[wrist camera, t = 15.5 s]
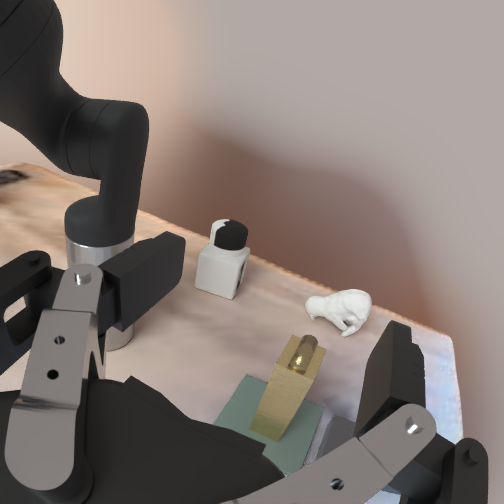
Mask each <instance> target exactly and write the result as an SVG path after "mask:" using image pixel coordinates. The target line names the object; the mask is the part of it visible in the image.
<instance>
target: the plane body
mask: <svg viewBox="0 0 504 504" xmlns="http://www.w3.org/2000/svg"><path fill="white" fill-rule="evenodd" d="M355 425H356V423H355V422H352V421H349V420H347V419H344V418H341V417H338V416H336V415H334V417H333V418H332V420H331V421H330V422H329V424H328V425H327V428H326V431H325V434H324V437H323V440H322V443H321V446H320V449H319V452H318V454H317V457H316V460H318V459H319V458H321V457H323V456H324V455H326V454H328V453H329V452H331V451H333V450H334V449H336V448H338V447H339V446H341V445H342V444H344V443H346V442H347V441H349V440H350V439H352V438H353V434H354V430H355ZM316 460H315V461H316ZM381 490H383V491H387V492H391V493H395V494H400V495H401V493H400V492H399V491H397V490H395V489H394V488H392V487H390V486H389V485H386V486H385V487H384V488H382V489H381Z"/></svg>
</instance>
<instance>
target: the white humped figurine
mask: <svg viewBox="0 0 504 504" xmlns="http://www.w3.org/2000/svg"><path fill="white" fill-rule="evenodd" d="M305 309H306V311H307V313H308V315H309V316H310V317H311V319H312V320H313V319H314V318H315V317H317V316H322V317H325V318H326V319H328V320H329V321H332V322H333V323H334V324H335V325H336V326H337V327H338V328H340V329H341V330H343V332H342V337H347V336H349V335H351V334H353V333H355V332H356V331H357V330H359V328H360V327H361V326H362V324H363V323H364V322H365V321H366V320H367V317H368V316H369V314H370V310H371V297H370V295H369V294H368V293H366V292H364V291H362V290H357V289H349V290H343V291H340V292H338V293H335V294H331V295H330V296H326V297H321V296H312V297H310V298H308V300H307V301H306V304H305ZM314 320H315V319H314ZM343 321H345V322H346V323H347V324H348V325H351V326H349V327H347V326H346V325H345V324H344V322H343ZM313 322H314V321H313Z"/></svg>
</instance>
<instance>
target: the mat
mask: <svg viewBox="0 0 504 504" xmlns="http://www.w3.org/2000/svg"><path fill="white" fill-rule="evenodd" d="M266 387H267V383H265V382H263V381H261V380H259V379H256V378H254V377H252V376H250V375H248V374H246V376H245V377H244V379H243V380H242V382H241V383H240V385H239V387H238V388H237V390H236V391H235V393H234V394H233V396H232V397H231V399H230V400H229V402H228V403H227V405H226V406H225V408H224V409H223V411H222V412H221V414H220V415H219V417H218V418H217V419H216V421H215V422H214V424H213V425H215V426H220V427H224V428H228V429H232V430H234V431H236V432H238V433H240V434H243V435H245V436H247V437H250V438H252V439H254V440H257V441H259V442H262V443H264V444H266V447H265V449H264V451H263V453H262V454H263V455H264V456H266V457H267V458H269V459H270V460H271V461H272V462H273V463H274V464H275V465H276V466H277V467H278V468H279V469H280V470H281V471H282V473H284V474H286V475H290V474H292V473H294V472H296V471H298V470H300V469H301V467H302V464H303V462H304V459H305V457H306V454H307V452H308V449H309V447H310V444H311V441H312V439H313V436H314V433H315V430H316V428H317V425H318V422H319V419H320V416H321V414H322V411H323V408H324V407H323V406H320V405H317V404H315V403H312V402H310V401H307V400H305V399H303V401H302V403H301V404H300V406H299V408H298V410H297V411H296V413H295V415H294V416H293V418H292V420H291V421H290V423H289V425H288V426H287V428H286V429H285V431H284V433H283V434H282V436H281V437H280V439H279V441H278V442H275V441H273V440H271V439H268V438H266V437H264V436H262V435H260V434H258V433H255V432H253V431H251V430H249V426H250V424H251V422H252V420H253V417H254V415H255V413H256V410H257V408H258V406H259V403H260V401H261V399H262V396H263V394H264V392H265V389H266Z"/></svg>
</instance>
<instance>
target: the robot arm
mask: <svg viewBox="0 0 504 504" xmlns="http://www.w3.org/2000/svg"><path fill="white" fill-rule="evenodd" d="M62 44H63V25H62V19H61V15H60V12H59V9H58V8H57V5H56V4H55V2H54V0H0V121H1V122H3V123H4V124H6V125H8V126H10V127H11V128H13V129H15V130H16V131H18V132H20V133H21V134H22V135H23V136H25V137H26V138H27V139H28V140H29V141H30V142H31V143H32V144H33V145H34V146H36V148H37V149H39V150H40V151H41V152H42V153H43V154H44V155H45V156H46V157H47V158H48V159H49V160H50V161H51V162H52V163H53V164H55V165H56V166H57V167H58V168H59V169H61V170H63V171H64V172H67V173H69V174H72V175H76V176H81V177H87V178H92V179H97V180H101V184H100V192H99V195H96V196H91V197H87V198H83V199H81V200H78V201H76V202H75V203H73V204H72V205H70V206H69V207H68V208H67V210H66V212H65V218H64V223H65V240H66V253H67V263H68V269H67V270H66V271H65V270H62V269H58V268H55V267H52V266H51V258H50V255H49V254H48V253H46V252H44V251H39V250H35V251H29V252H26V253H24V254H22V255H20V256H19V257H17V258H15V259H14V260H12V261H10V262H9V263H7V264H5V265H4V266H2V267H0V375H2V374H3V373H4V372H5V371H6V370H7V369H8V368H9V367H10V366H12V365H13V364H14V363H15V362H16V361H17V360H18V359H19V358H21V357H22V356H23V355H24V354H25V353H26V352H27V351H29V350H30V349H31V351H30V355H29V359H28V362H27V366H26V370H25V375H24V379H23V383H22V388H21V390H14V391H5V392H0V504H364V503H365V502H366V501H368V500H369V499H370V498H371V497H373V496H374V495H375V494H376V493H378V492H379V491H380V490H381V489H382V488H384V487H385V486H386V485H389V486H390V487H392V488H394V489H395V490H397V491H399V492H400V493H401V498H400V502H399V504H487V502H488V456H487V452H486V450H485V449H484V447H483V446H482V444H481V443H479V442H478V441H477V440H475V439H472V438H464V439H462V440H460V441H459V442H458V443H457V444H456V445H455V444H453V443H452V442H450V441H448V440H447V439H445V438H444V437H442V436H440V435H439V434H438V433H436V423H435V420H434V418H433V416H432V415H431V414H430V412H429V411H428V410H426V401H425V378H424V377H425V370H424V356H423V354H422V352H421V350H420V348H419V346H418V345H417V344H414V343H412V337H411V327H409V326H406V325H404V324H401V323H398V322H396V321H393V320H391V321H390V322H389V324H388V325H387V327H386V329H385V330H384V332H383V334H382V336H381V337H380V339H379V341H378V342H377V344H376V346H375V347H374V349H373V351H372V352H371V354H370V357H369V359H368V362H367V365H366V370H365V377H364V383H363V389H362V394H361V400H360V405H359V410H358V415H357V420H356V425H355V430H354V434H353V438H352V439H350V440H349V441H347V442H346V443H344V444H342V445H341V446H339V447H338V448H336V449H334V450H333V451H331V452H329V453H328V454H326V455H324V456H323V457H321V458H319V459H318V460H316V461H314V462H312V463H311V464H309V465H307V466H305V467H303V468H302V469H300V470H298V471H296V472H294V473H292V474H290V475H288V476H287V477H285V476H284V474H283V473H282V471H281V470H280V469H279V468H278V467H277V466H276V465H275V464H274V463H273V462H272V461H271V460H270V459H269V458H267V457H266V456H264V455H263V454H262V453H263V451H264V449H265V447H266V444H264V443H262V442H259V441H257V440H254V439H252V438H250V437H247V436H245V435H243V434H240V433H238V432H236V431H234V430H232V429H228V428H224V427H220V426H215V425H211V424H207V423H203V422H200V421H196V420H192V419H190V418H188V417H187V416H186V415H184V414H183V413H182V412H181V411H180V410H179V409H178V408H177V407H175V406H174V405H173V404H172V403H171V402H170V401H169V400H168V399H167V398H166V397H164V396H163V395H162V394H161V393H160V392H158V391H156V390H155V389H153V388H151V387H149V386H148V385H146V384H144V383H143V382H141V381H139V380H138V379H136V378H135V377H133V376H130V377H129V378H128V379H127V380H126V381H125V382H124V383H122V382H119V381H114V380H108V379H105V368H106V353H107V351H111V350H115V349H118V348H121V347H123V346H124V345H126V344H127V343H128V342H129V341H130V339H131V338H132V335H133V330H134V328H133V323H134V322H135V321H136V320H138V319H139V318H140V317H141V316H142V315H143V314H145V313H146V312H147V311H148V310H149V309H150V308H151V307H153V306H154V305H155V304H156V303H157V302H158V301H160V300H161V299H162V298H163V297H164V296H165V295H166V294H168V293H169V292H170V291H171V290H172V289H173V288H175V287H176V285H177V284H178V283H179V281H180V278H181V276H182V270H183V261H184V253H185V244H186V242H185V239H184V238H183V237H181V236H178V235H176V234H173V233H171V232H168V231H166V232H164V233H162V234H160V235H158V236H157V237H155V238H153V239H152V238H150V239H146V240H142V241H138V242H137V243H135V244H134V231H135V220H136V214H137V209H138V203H139V197H140V187H141V180H142V173H143V167H144V162H145V156H146V151H147V144H148V137H149V119H148V114H147V112H146V109H145V108H144V107H143V106H142V105H140V104H138V103H134V102H129V101H116V100H104V99H91V98H87V97H83V96H81V95H79V94H78V93H77V92H76V91H74V90H73V89H72V88H71V87H70V86H69V84H68V83H67V82H66V81H65V80H64V79H63V77H62V76H61V75H60V72H59V66H60V59H61V53H62ZM23 296H24V300H25V304H26V307H25V308H24V309H23V310H21V311H20V312H19V313H17V314H16V315H15V316H13V317H12V318H11V319H9V320H8V321H7V322H6V323H5V322H4V312H5V310H6V309H7V308H8V307H9V306H10V305H12V304H13V303H14V302H16V301H17V300H18V299H20V298H21V297H23Z"/></svg>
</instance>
